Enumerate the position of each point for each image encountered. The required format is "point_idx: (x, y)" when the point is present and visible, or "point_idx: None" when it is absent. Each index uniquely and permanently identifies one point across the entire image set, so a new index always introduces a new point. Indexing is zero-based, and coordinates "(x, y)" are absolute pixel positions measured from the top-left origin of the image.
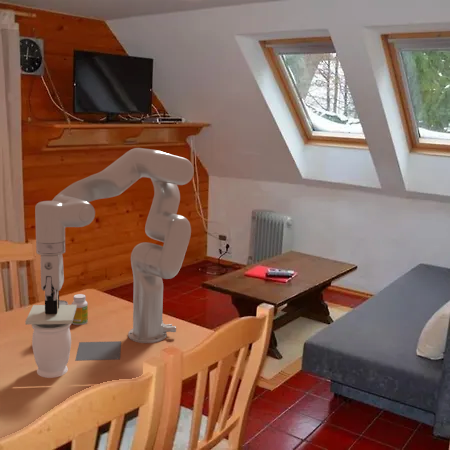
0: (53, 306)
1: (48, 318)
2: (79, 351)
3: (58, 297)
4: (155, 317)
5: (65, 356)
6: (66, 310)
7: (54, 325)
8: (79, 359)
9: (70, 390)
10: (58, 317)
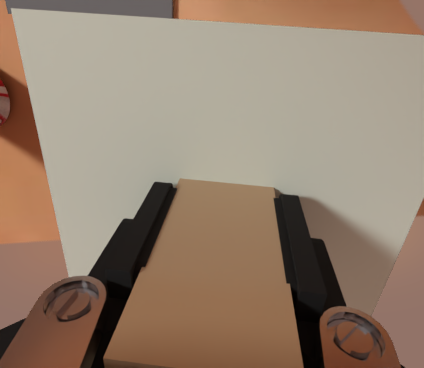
0: (331, 271)
1: (353, 243)
2: (92, 9)
3: (138, 254)
4: None
5: None
6: (183, 109)
7: None
8: (164, 5)
9: (402, 32)
10: (355, 174)
